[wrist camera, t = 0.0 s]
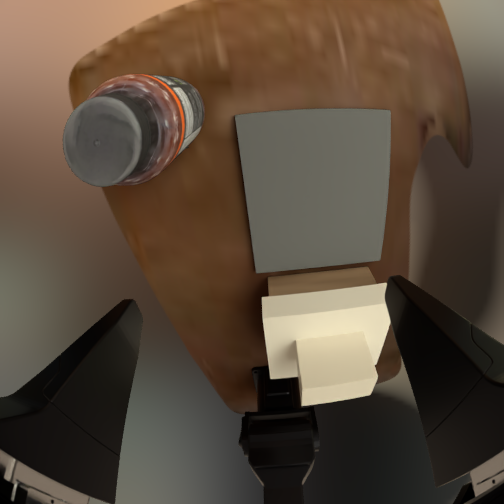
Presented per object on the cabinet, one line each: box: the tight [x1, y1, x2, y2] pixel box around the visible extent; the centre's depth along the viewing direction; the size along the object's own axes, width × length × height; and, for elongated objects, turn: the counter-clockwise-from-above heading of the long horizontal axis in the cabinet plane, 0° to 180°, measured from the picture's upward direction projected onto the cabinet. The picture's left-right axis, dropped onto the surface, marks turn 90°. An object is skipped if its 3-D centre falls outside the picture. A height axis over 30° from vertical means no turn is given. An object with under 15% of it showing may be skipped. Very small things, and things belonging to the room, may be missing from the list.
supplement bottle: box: [63, 74, 205, 187], centre depth 14 cm, size 6×6×11 cm
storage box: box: [268, 266, 377, 296], centre depth 27 cm, size 8×10×5 cm
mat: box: [235, 108, 391, 273], centre depth 22 cm, size 14×12×1 cm
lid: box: [262, 283, 390, 406], centre depth 23 cm, size 9×11×8 cm
